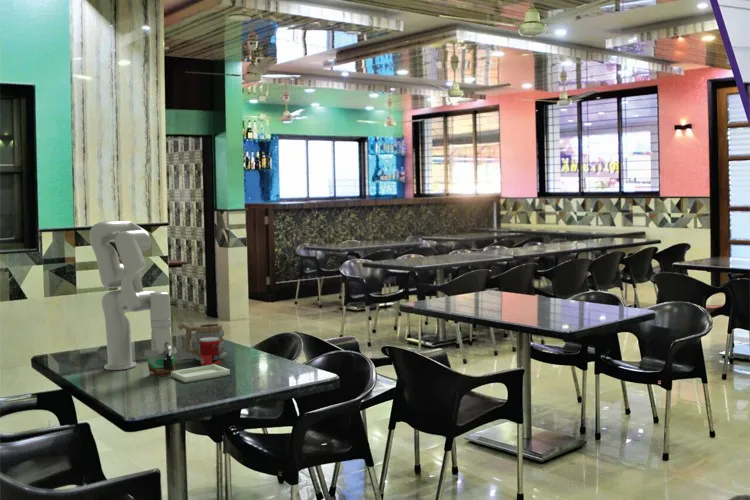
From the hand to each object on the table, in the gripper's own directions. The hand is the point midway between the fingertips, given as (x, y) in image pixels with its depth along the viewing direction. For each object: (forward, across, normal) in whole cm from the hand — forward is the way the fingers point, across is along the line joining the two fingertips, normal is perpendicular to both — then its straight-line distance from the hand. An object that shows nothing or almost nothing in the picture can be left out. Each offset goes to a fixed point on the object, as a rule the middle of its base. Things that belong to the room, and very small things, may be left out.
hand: (163, 367), depth 302 cm
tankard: (+3, -20, +25) cm, 32 cm away
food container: (+3, 0, 0) cm, 3 cm away
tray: (+3, +12, +10) cm, 16 cm away
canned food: (+3, -3, +21) cm, 21 cm away
